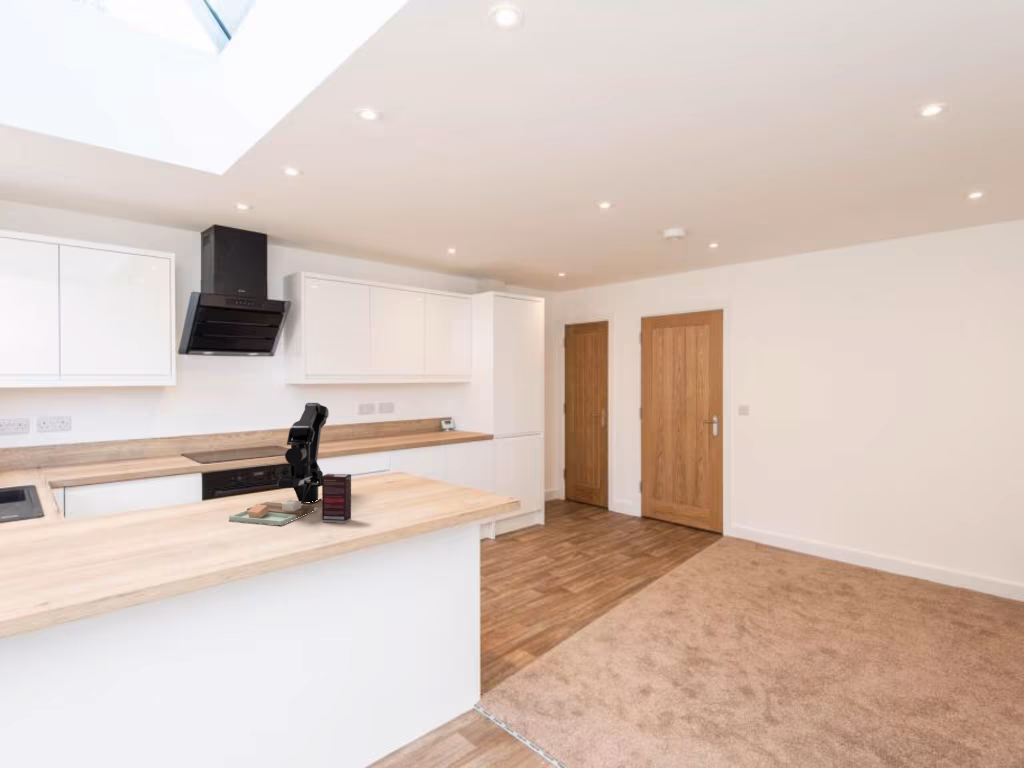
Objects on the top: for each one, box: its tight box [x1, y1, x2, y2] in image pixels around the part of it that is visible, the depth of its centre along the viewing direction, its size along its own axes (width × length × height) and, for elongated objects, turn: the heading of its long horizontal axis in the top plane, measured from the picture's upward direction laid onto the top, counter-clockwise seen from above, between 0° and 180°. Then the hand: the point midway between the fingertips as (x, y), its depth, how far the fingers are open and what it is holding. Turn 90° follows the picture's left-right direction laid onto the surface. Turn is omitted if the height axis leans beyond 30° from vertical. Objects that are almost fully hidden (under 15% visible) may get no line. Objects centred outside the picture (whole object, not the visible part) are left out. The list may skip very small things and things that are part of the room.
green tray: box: [228, 509, 297, 526], centre depth 176 cm, size 8×20×2 cm, turn 77°
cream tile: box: [281, 499, 302, 511], centre depth 183 cm, size 4×4×2 cm
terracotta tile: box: [247, 503, 269, 519], centre depth 178 cm, size 4×4×2 cm
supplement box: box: [321, 473, 352, 524], centre depth 176 cm, size 9×5×16 cm, turn 84°
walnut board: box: [246, 501, 315, 519], centre depth 185 cm, size 10×20×2 cm, turn 77°
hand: (300, 501), depth 188 cm, fingers closed
